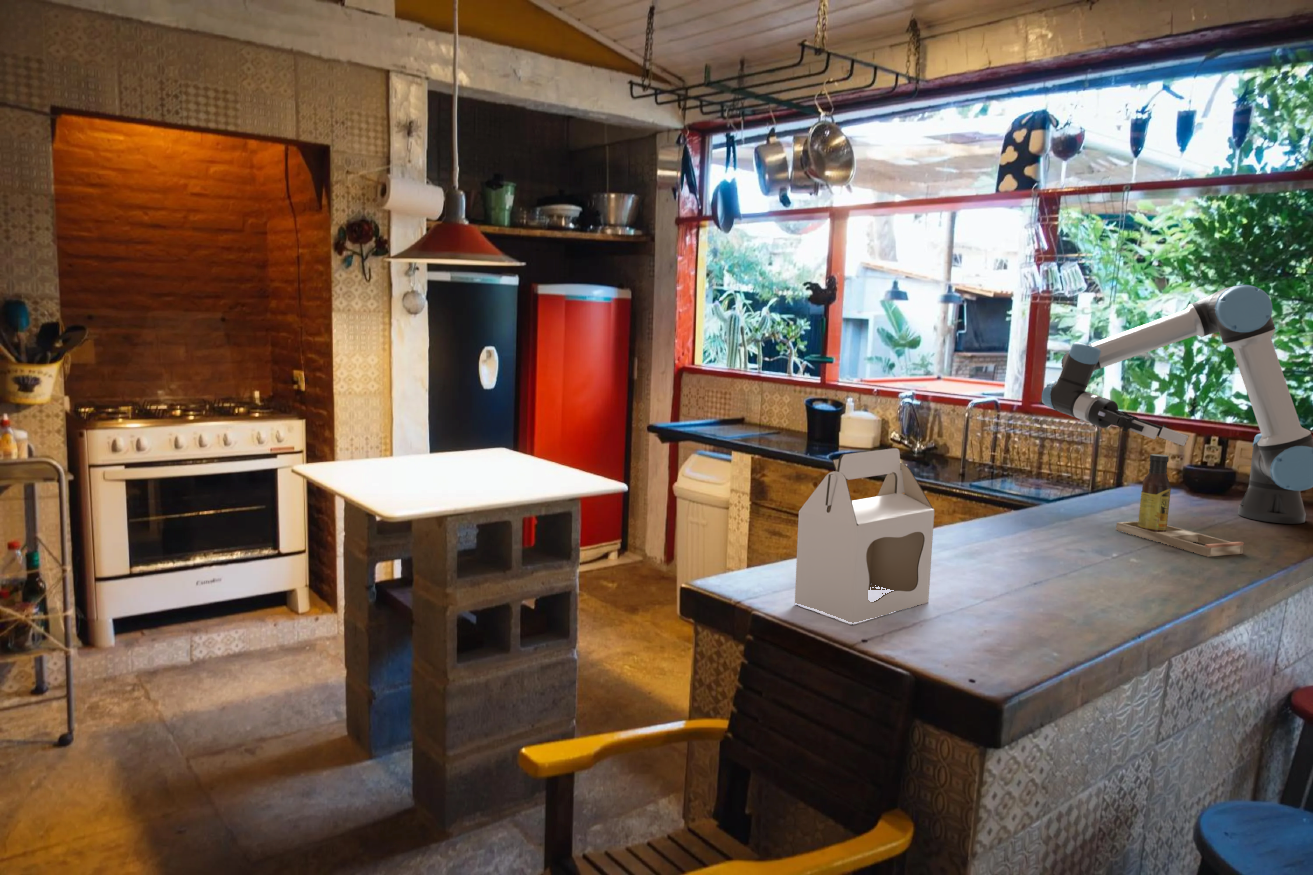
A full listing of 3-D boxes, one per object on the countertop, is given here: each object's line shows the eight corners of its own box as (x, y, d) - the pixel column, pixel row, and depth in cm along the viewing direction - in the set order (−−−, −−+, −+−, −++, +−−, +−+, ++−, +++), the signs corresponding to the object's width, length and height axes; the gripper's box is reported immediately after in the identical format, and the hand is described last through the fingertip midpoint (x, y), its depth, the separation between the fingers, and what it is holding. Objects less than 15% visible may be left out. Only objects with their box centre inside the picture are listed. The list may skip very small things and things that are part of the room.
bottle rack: (1148, 527, 229) (1149, 518, 229) (1242, 553, 205) (1243, 542, 205) (1116, 530, 226) (1117, 520, 226) (1208, 556, 202) (1209, 545, 202)
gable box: (871, 585, 175) (879, 442, 171) (929, 602, 165) (939, 451, 161) (792, 605, 161) (799, 451, 157) (851, 626, 151) (860, 461, 147)
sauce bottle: (1163, 539, 218) (1172, 458, 215) (1135, 534, 222) (1142, 455, 219) (1168, 534, 223) (1176, 455, 220) (1139, 530, 227) (1147, 452, 224)
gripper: (1117, 429, 247) (1191, 457, 230) (1063, 417, 234) (1137, 445, 217) (1128, 403, 246) (1203, 429, 228) (1074, 390, 232) (1150, 416, 215)
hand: (1171, 437), depth 222 cm, fingers open, 13 cm apart
